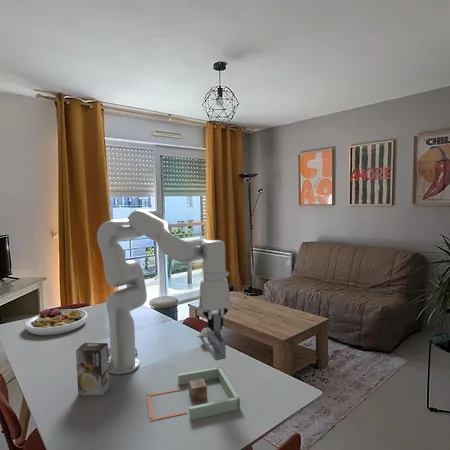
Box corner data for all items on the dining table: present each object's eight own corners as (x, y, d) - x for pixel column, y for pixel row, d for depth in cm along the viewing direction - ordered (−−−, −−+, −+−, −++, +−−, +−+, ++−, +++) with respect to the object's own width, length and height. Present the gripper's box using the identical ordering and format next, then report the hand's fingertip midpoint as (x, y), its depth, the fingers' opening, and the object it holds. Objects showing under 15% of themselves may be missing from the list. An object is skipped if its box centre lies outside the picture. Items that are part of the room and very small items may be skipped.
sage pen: (190, 420, 96) (189, 409, 96) (178, 383, 116) (177, 374, 116) (240, 409, 101) (239, 398, 101) (220, 375, 121) (220, 366, 121)
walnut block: (192, 403, 105) (192, 388, 104) (189, 394, 109) (189, 380, 109) (207, 400, 106) (206, 385, 106) (203, 392, 111) (203, 378, 111)
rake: (215, 360, 103) (214, 321, 102) (203, 343, 116) (202, 308, 115) (226, 358, 104) (225, 319, 103) (212, 341, 117) (212, 307, 116)
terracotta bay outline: (149, 421, 96) (149, 420, 96) (146, 394, 109) (146, 394, 109) (186, 413, 99) (186, 412, 99) (178, 388, 113) (178, 388, 113)
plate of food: (99, 323, 179) (98, 309, 179) (46, 342, 154) (45, 326, 153) (67, 314, 195) (66, 301, 194) (14, 330, 169) (13, 316, 169)
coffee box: (110, 385, 115) (109, 342, 115) (102, 396, 109) (101, 350, 108) (85, 385, 116) (84, 342, 115) (76, 395, 109) (75, 350, 109)
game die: (210, 352, 149) (213, 341, 143) (194, 345, 150) (196, 333, 144) (217, 337, 156) (220, 326, 150) (201, 330, 157) (204, 318, 151)
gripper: (232, 272, 115) (233, 322, 116) (188, 276, 110) (190, 328, 110) (240, 276, 108) (241, 329, 109) (194, 280, 102) (195, 336, 103)
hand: (215, 328), depth 110 cm, fingers closed on rake, 2 cm apart
